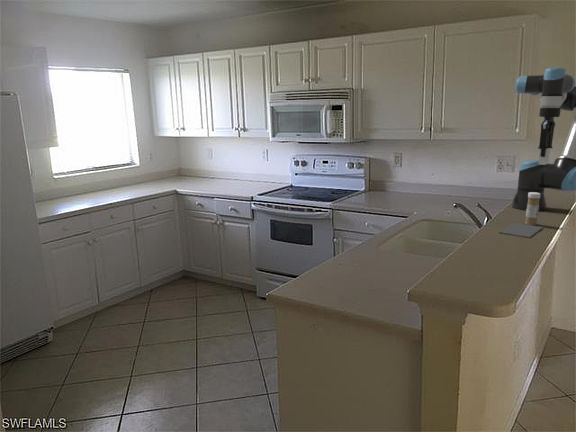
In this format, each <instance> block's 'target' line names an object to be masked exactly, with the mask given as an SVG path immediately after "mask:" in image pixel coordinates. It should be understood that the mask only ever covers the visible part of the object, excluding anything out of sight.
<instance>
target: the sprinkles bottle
mask: <svg viewBox="0 0 576 432" xmlns="http://www.w3.org/2000/svg"><path fill="white" fill-rule="evenodd" d="M539 199H540V193H537V192H529V193H528V203H527V210H525V211H526V212H525V220H524V221H525V222H524V224H525V225H532V226H537V225H538V224H537V222H538V215H539V211H538V209H539Z"/></svg>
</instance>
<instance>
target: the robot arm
mask: <svg viewBox="0 0 576 432" xmlns="http://www.w3.org/2000/svg"><path fill="white" fill-rule="evenodd" d="M566 71H567V70H566V68H564V67H549V68H546V69H545V70H544V74H542V75H540V74H539V75H520V76H519V77H518V78H517V79H516V81H515V91H516V92H517V94H529V95H531V96H533V97H537V98H539V102H540V108H539V114H538V115H539V117H541V118H543V121H542V123H541V124H540V137H539V143H538V144H539V146H538V147H537V149H539V156H538V160H537V159H534V160H525V161H522V162H521V163H520V165H519V170H518V182H517V190H516V193H515V195H514V197H513V198H512V201H511V207H512V208H514V209H517V210H525V211H526V210H527V203H528V193H529V192H537V193H540V199H539V209H538V212H541V211H545V210H546V209H547V201H546V197H545V189H547V190H548V189H549V190H556V191H563V192H567V191H569V192H575V191H576V79H575V78H574V76H573V75H570V74H568V73H566ZM562 110H563V111H566V112H567V111H569V112H572V113H573V115H574V117H573V119H572V123H571V125H570V128H569V130H568V134H567V136H566V139H565V142H564V145H563V147H562V150H561V153H560V155H559V156H558V157H556V158H555V159H554V162H553V163H549V161H550V160H549V159H550V154H551V149H553V146H552V145H553V139H554V134H555V133H554V131H555V127H556V121H555V118H559V117H560V116H561V111H562Z"/></svg>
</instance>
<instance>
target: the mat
mask: <svg viewBox="0 0 576 432" xmlns="http://www.w3.org/2000/svg"><path fill="white" fill-rule="evenodd" d="M543 228H544V227H543V226H537V225H527V224H525V223H524V224H523V223H518V222H514V223H511V224H510V225H508V226H507V227H504V228H503V229H502V230H500V231H499V232H498V233H499V234H503V235H509V236H514V237H521V238H527V239H530V238H532V237H533V236H534V235H536V234H538V232H540V231H541V230H543Z"/></svg>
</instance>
